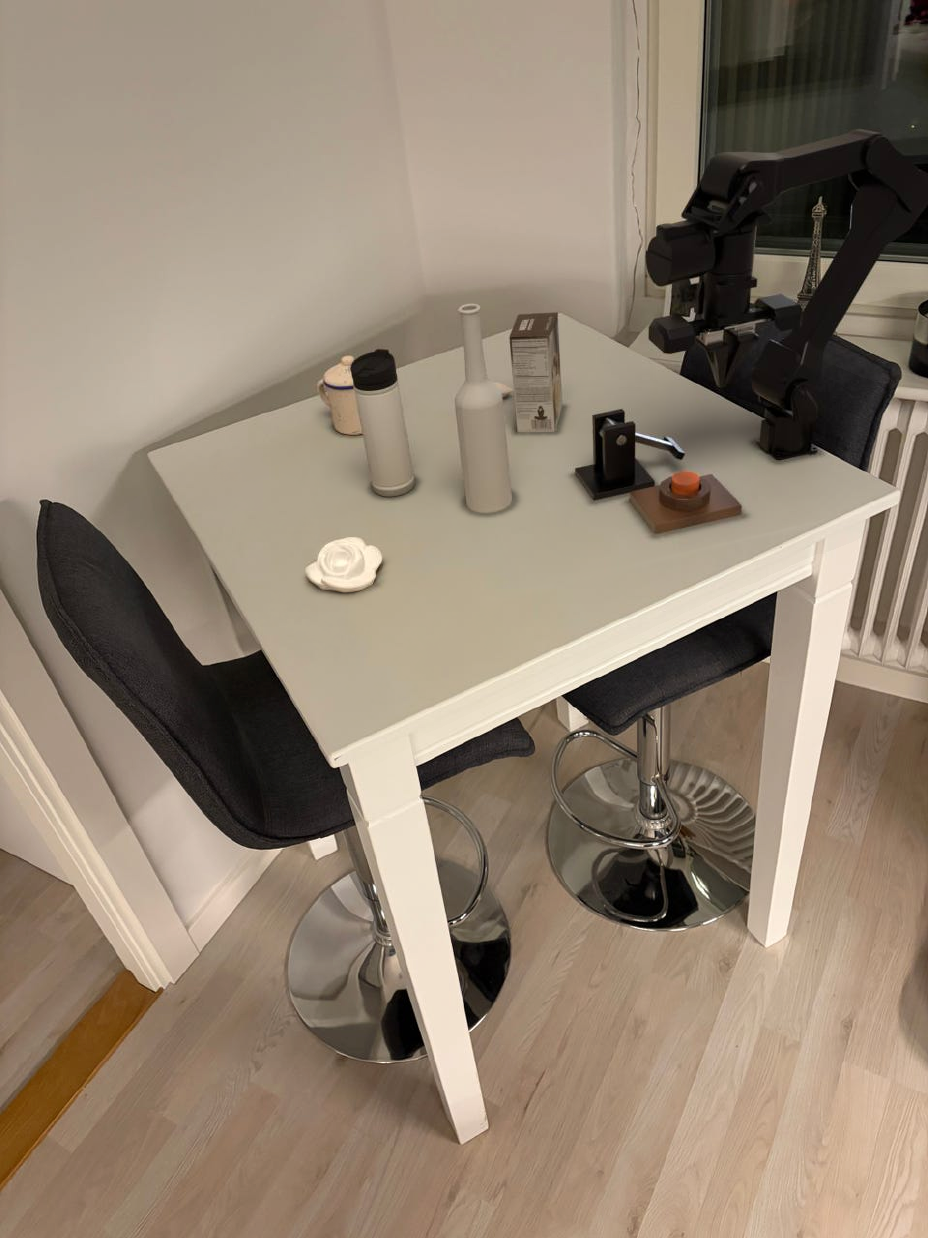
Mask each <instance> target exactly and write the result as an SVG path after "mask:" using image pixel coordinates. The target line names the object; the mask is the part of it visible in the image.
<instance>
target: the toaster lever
mask: <svg viewBox="0 0 928 1238" xmlns="http://www.w3.org/2000/svg"><path fill="white" fill-rule="evenodd" d="M621 423H623V422H619V421H616V420H612V419H609V418H606V419H605V422H604V424H603V426H602V428H603V427H607V426H612V425H616V424H621ZM602 428H601V430H600V432H599V434H600V435H601V436H602V437H603V431H602ZM635 443H637V444H641V445H644V446H647V447H651V448H655V449H659V450H662V451H665V452H669V454H671V456H673V457H674V458H675V459H676V460H679V461H682V460H683V459H684V457H685V456H686V452H685V451H684V450H683V449H682V448H681V447H680V446H679V444H677V442H675V441H674V439H673V438H671V437H670V436H664V438H663V439H660V438H655V437H652V436H649V435H645V434H642V433H639V432H635Z"/></svg>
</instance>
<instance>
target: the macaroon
mask: <svg viewBox="0 0 928 1238" xmlns="http://www.w3.org/2000/svg"><path fill="white" fill-rule="evenodd" d="M492 383H493V384H494V385H495V386H496V387H497V388H498V389H499V390H500V392H501V393H502V398H503V399H504V398H505V397H506V396H508V395H509V394H511V393H513V392H514V389H512V388H511V387H509V386H508V385H505V384H504V383H502V382H496V381H495V382H494V381H493V382H492Z"/></svg>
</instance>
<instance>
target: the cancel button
mask: <svg viewBox="0 0 928 1238" xmlns="http://www.w3.org/2000/svg"><path fill="white" fill-rule="evenodd" d="M671 476H672V481H671V490H672V492H674V493H676V494H679V495H690V494H695V493H697V492H698V491H699V481H700V477H699V476H700V475H699V474H698V473H697V472H694V471H690V470H680V471H677V472H675V473H674V474H673V475H671Z"/></svg>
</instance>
